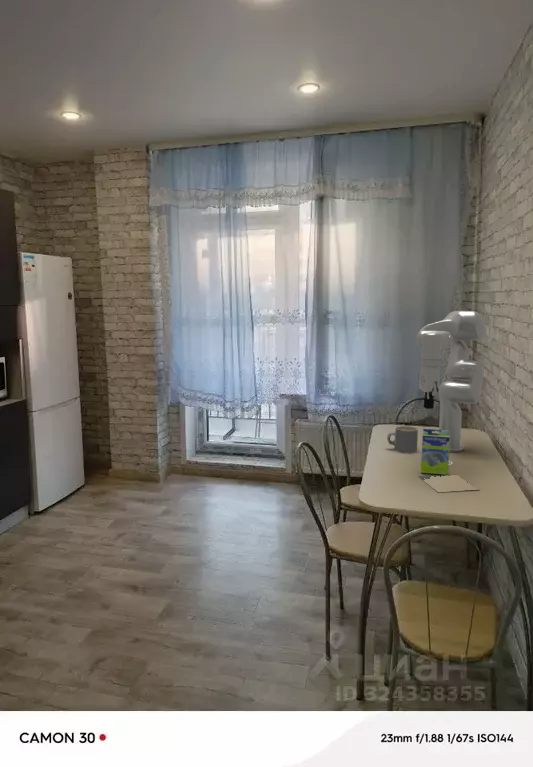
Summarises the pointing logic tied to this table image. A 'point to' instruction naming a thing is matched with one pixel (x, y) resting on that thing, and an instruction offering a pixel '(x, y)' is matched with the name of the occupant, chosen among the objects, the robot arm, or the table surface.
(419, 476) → the mat
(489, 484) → the table surface
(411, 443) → the coffee mug
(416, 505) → the table surface
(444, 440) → the box
